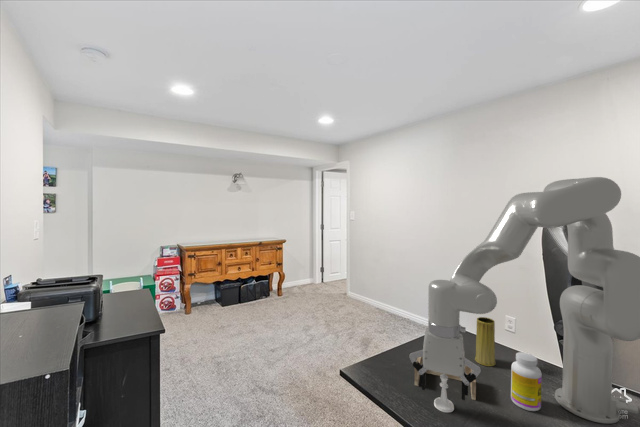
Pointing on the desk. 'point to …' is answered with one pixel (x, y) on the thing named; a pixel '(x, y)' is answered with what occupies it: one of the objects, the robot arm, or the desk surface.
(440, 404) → the chess piece
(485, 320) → the vase
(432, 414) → the desk surface
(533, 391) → the supplement bottle
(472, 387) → the open-side wooden frame
